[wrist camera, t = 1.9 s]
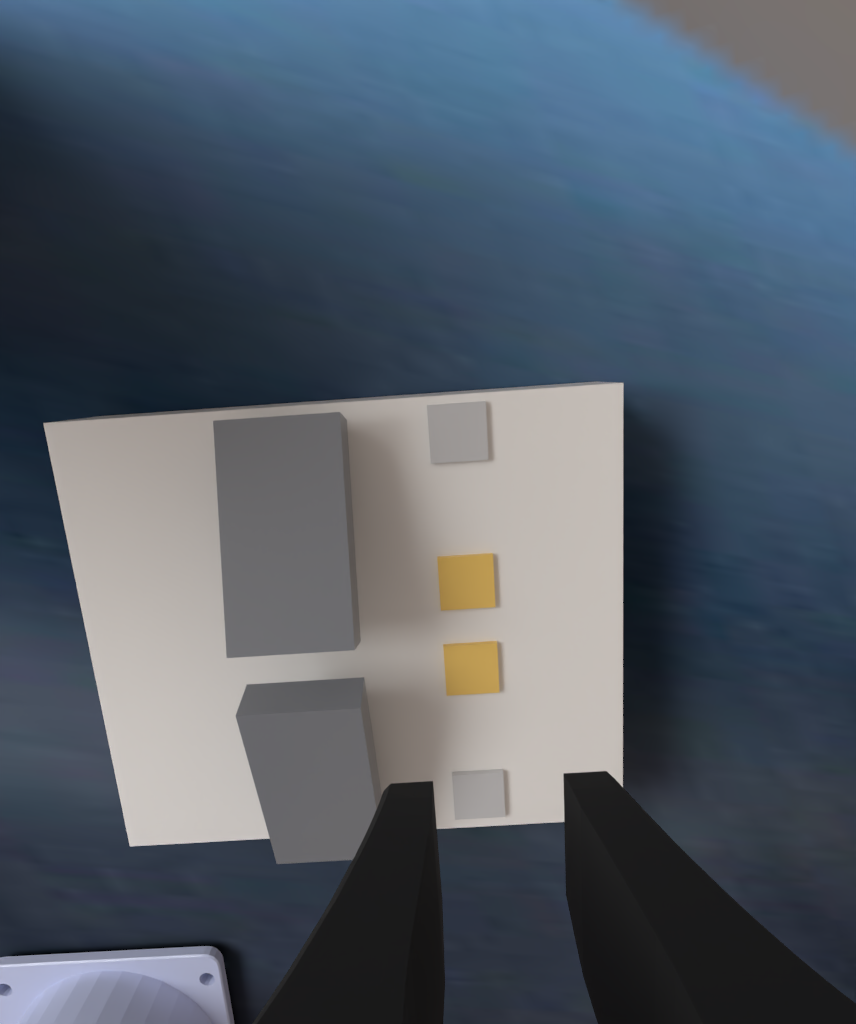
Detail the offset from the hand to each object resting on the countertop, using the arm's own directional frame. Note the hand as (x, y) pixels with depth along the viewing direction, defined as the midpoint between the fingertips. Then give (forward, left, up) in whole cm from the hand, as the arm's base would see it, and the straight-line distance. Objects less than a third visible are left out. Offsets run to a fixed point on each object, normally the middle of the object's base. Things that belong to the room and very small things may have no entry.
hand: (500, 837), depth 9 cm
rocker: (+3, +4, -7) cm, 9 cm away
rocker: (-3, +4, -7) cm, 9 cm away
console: (0, +3, -10) cm, 10 cm away
